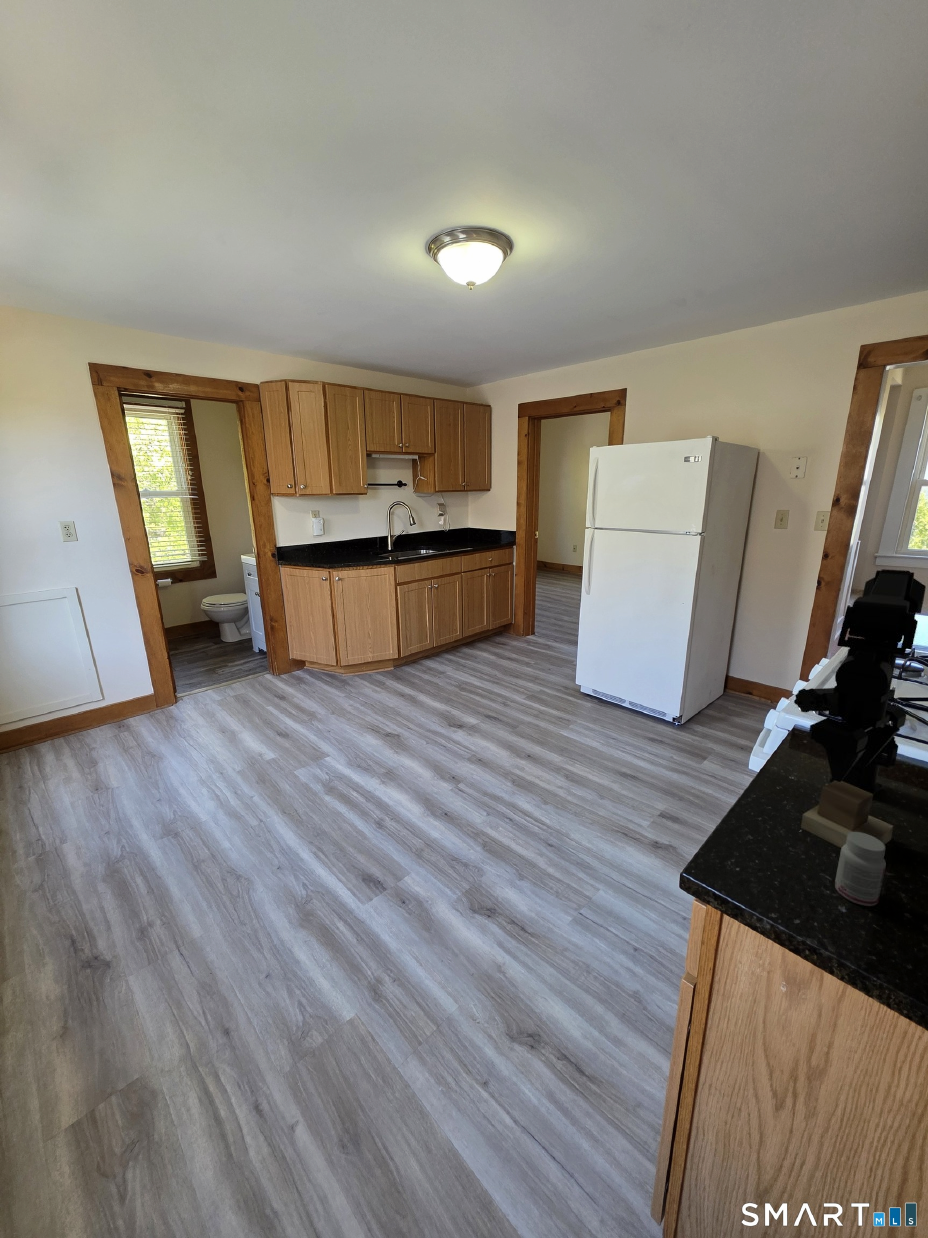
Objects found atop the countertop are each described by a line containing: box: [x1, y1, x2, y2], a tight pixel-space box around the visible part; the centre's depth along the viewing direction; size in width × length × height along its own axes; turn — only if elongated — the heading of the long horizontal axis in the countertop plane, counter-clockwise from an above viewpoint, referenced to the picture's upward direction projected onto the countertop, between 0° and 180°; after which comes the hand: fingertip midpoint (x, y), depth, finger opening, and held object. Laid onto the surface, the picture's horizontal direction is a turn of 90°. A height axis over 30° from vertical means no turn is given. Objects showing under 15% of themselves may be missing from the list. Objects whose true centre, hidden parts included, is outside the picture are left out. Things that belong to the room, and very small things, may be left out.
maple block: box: [800, 804, 894, 849], centre depth 79 cm, size 9×9×3 cm
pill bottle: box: [834, 832, 887, 907], centre depth 66 cm, size 5×5×8 cm
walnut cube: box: [817, 781, 874, 831], centre depth 78 cm, size 5×5×5 cm
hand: (849, 772), depth 77 cm, fingers open, 9 cm apart
